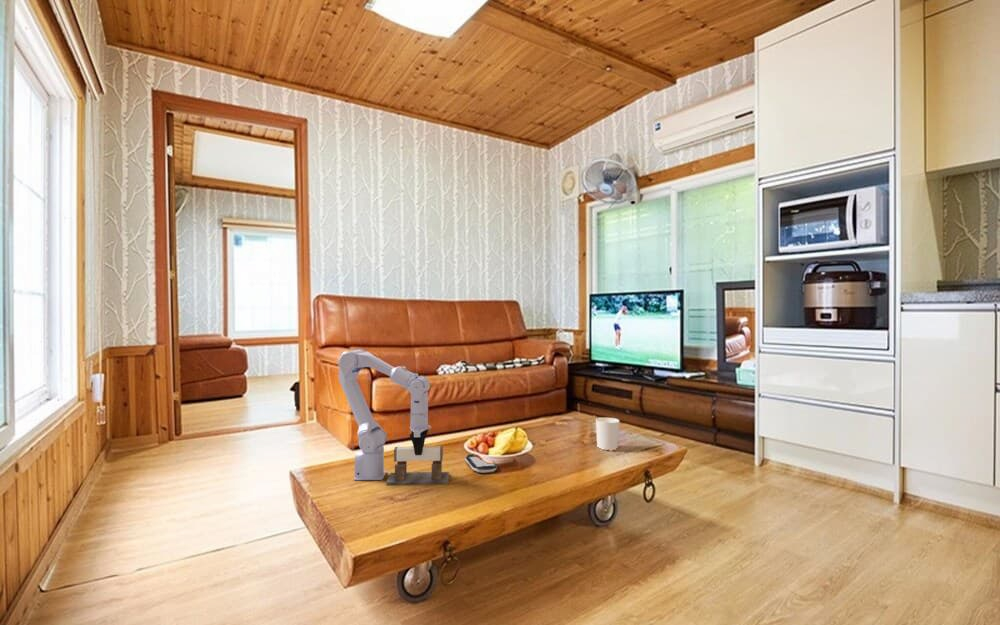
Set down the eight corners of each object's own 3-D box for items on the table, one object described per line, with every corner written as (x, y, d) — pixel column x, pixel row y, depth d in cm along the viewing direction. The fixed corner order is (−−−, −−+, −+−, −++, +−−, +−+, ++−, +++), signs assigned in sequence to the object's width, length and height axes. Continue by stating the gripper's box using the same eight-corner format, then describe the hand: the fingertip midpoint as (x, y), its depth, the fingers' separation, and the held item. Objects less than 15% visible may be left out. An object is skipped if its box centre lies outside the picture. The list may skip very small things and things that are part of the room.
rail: (394, 461, 157) (394, 449, 157) (395, 458, 160) (395, 446, 160) (442, 460, 159) (442, 448, 159) (442, 457, 162) (442, 446, 162)
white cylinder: (592, 445, 202) (592, 417, 202) (614, 445, 203) (614, 417, 203) (599, 452, 192) (599, 422, 192) (622, 451, 194) (623, 422, 194)
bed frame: (386, 485, 154) (386, 466, 154) (390, 475, 163) (390, 458, 163) (448, 483, 156) (448, 465, 156) (448, 474, 165) (449, 457, 165)
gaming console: (462, 460, 183) (462, 453, 183) (485, 457, 185) (485, 451, 185) (475, 476, 164) (475, 469, 164) (500, 473, 167) (500, 466, 167)
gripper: (429, 417, 153) (429, 459, 152) (432, 408, 167) (432, 446, 167) (407, 417, 152) (407, 460, 152) (412, 408, 166) (412, 447, 166)
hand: (418, 453), depth 159 cm, fingers closed on rail, 3 cm apart
